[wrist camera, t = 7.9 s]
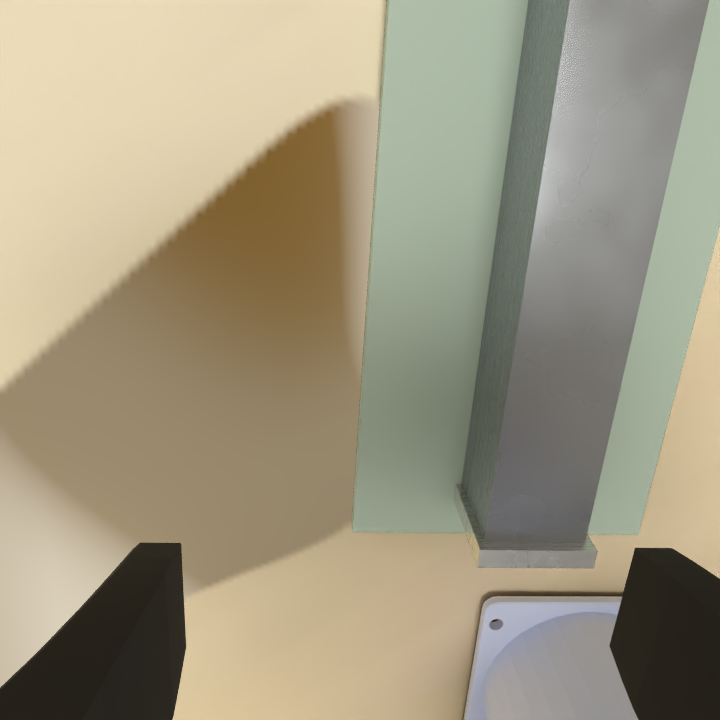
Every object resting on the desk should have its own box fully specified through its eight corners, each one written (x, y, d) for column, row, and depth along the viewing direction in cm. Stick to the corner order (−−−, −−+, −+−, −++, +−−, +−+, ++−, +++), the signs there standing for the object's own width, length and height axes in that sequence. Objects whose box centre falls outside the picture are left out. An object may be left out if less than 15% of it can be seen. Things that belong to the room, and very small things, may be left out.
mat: (630, 524, 23) (637, 535, 22) (351, 521, 22) (352, 531, 21) (833, -266, 15) (852, -280, 14) (408, -318, 14) (412, -336, 13)
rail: (552, 500, 21) (593, 568, 18) (453, 499, 21) (477, 567, 18) (696, -215, 14) (802, -307, 11) (551, -232, 14) (619, -331, 11)
